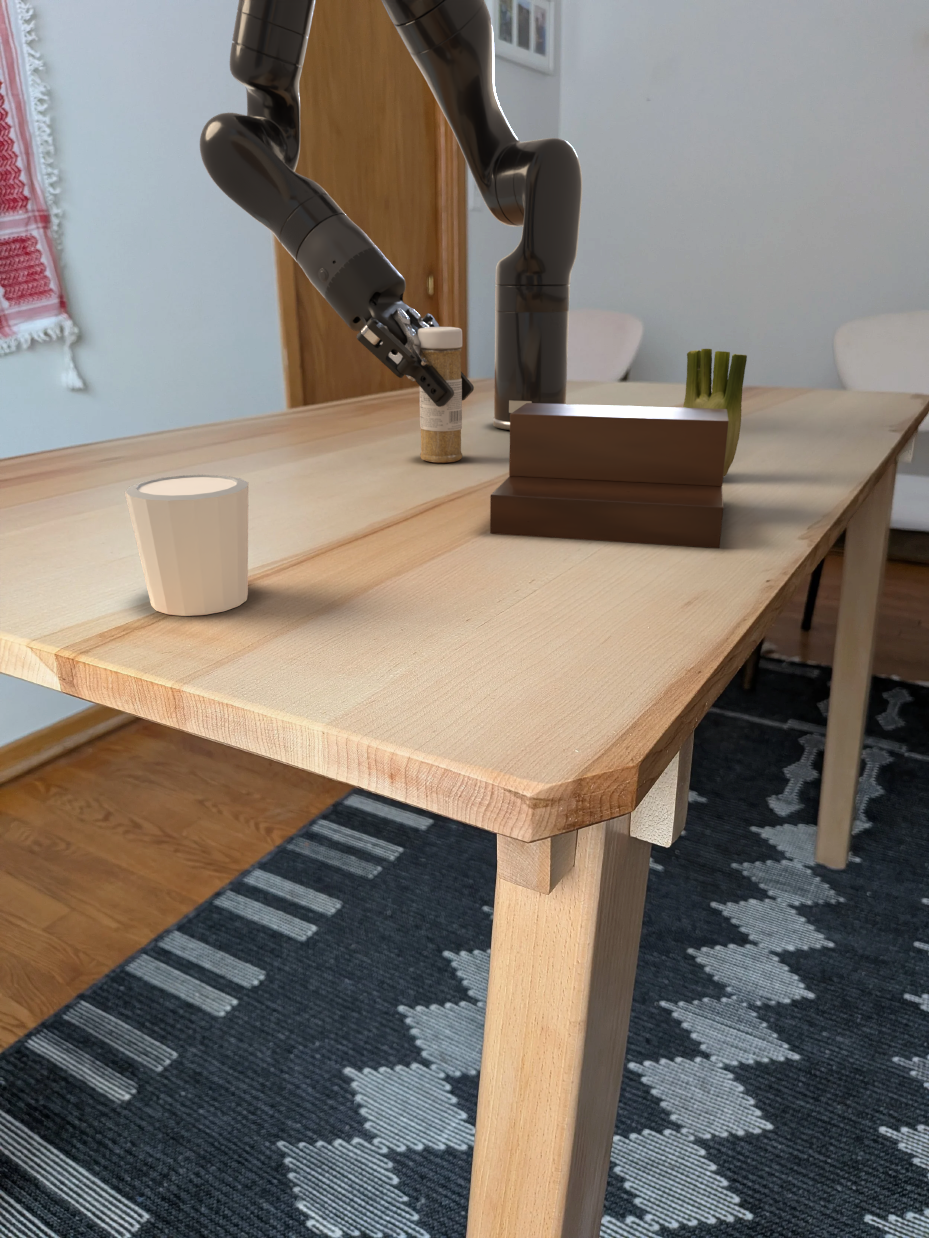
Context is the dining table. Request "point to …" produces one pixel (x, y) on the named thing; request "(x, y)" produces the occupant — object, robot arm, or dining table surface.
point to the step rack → (614, 474)
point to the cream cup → (192, 542)
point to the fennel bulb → (717, 390)
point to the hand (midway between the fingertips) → (457, 397)
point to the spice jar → (446, 420)
